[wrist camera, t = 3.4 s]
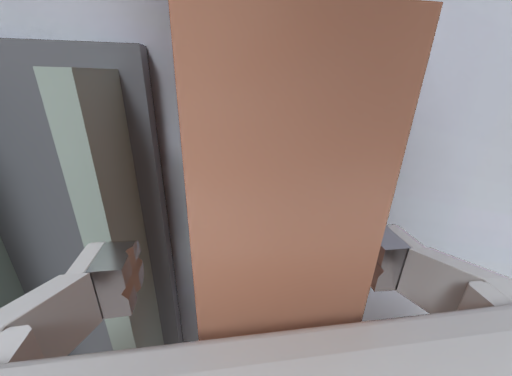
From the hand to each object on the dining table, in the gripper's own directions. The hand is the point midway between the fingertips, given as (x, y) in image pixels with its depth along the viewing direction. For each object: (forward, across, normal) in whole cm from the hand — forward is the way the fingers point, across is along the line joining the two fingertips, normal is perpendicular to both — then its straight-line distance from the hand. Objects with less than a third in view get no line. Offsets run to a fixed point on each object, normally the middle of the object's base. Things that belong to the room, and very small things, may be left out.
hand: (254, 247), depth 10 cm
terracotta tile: (+6, 0, 0) cm, 6 cm away
